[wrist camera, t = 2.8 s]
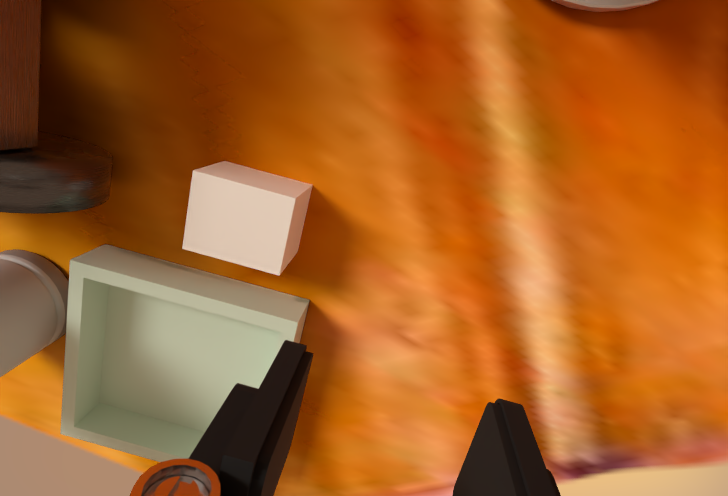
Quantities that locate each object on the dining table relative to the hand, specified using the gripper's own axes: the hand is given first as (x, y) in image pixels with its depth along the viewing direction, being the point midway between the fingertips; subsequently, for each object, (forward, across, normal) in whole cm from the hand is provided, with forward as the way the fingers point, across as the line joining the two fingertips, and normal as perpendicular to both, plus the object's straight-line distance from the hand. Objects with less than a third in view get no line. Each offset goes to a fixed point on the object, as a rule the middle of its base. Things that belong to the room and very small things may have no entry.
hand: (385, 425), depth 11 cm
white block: (+16, +8, 0) cm, 17 cm away
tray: (+15, +10, +10) cm, 21 cm away
